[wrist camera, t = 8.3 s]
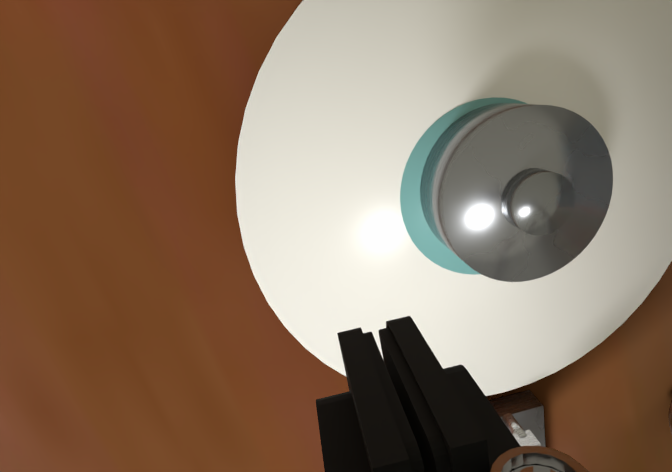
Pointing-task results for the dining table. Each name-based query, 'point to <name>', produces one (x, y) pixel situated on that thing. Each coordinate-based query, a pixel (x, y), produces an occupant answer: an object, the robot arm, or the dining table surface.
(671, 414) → the tin
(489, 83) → the white plate
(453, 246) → the cover
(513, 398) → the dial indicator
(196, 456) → the dining table surface
